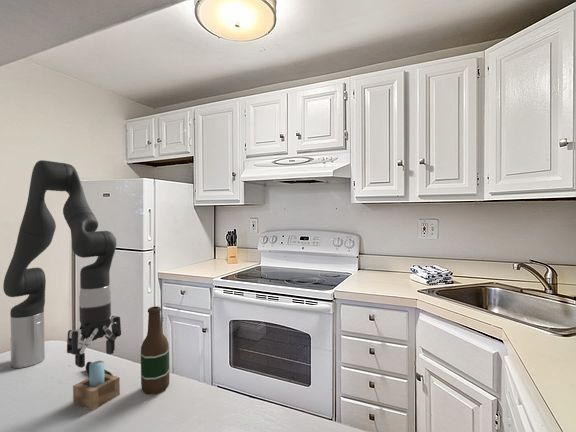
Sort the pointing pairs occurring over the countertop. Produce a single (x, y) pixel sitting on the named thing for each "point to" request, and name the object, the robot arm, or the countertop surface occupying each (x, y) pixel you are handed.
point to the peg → (96, 373)
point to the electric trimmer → (88, 368)
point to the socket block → (96, 392)
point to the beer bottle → (154, 356)
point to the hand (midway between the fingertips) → (95, 359)
